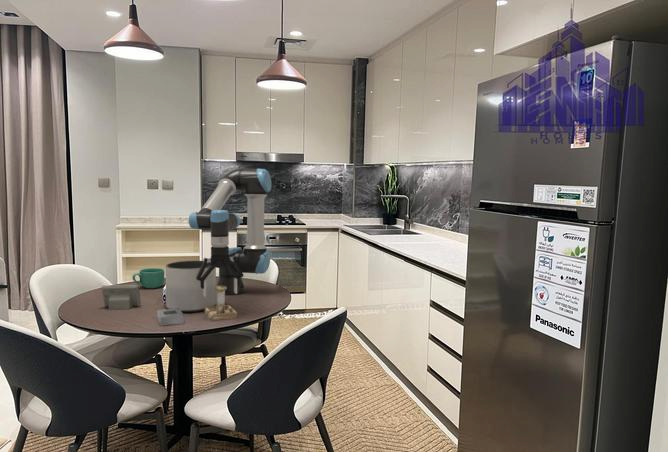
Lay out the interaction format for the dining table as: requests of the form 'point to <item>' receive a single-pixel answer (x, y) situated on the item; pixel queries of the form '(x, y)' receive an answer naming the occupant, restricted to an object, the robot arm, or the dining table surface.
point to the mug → (150, 277)
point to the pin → (220, 299)
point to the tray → (213, 316)
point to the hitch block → (170, 316)
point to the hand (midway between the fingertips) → (220, 294)
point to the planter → (189, 286)
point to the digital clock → (121, 296)
